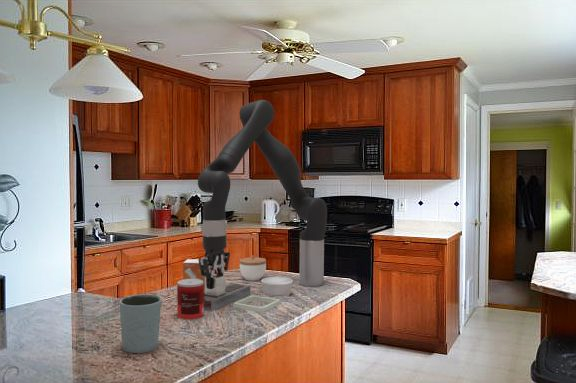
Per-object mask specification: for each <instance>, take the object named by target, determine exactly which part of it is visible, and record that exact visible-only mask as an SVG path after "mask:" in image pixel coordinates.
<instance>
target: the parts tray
mask: <svg viewBox="0 0 576 383" xmlns="http://www.w3.org/2000/svg"><path fill="white" fill-rule="evenodd" d="M251 301H256V302H262V303H268V304H266V305H264V306H256V305H250V304H247V303H250V302H251ZM281 304H282V300H281V299H279V298H272V297H266V296H259V295H251V294H250V295H249V296H246V297H244V298H242V299H239V300H237V301H235V302H232V308H233V309H238V310H245V311H251V312H256V313H257V312H258V313H267V312H268V311H269V310H271V309H273V308H275V307H277V306H279V305H281ZM275 310H277V308H276V309H275ZM275 310H274V309H273V310H272V311H270V312H269V313H268V314H270V313H271V312H273V311H275Z"/></svg>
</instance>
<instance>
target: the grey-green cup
mask: <svg viewBox="0 0 576 383" xmlns="http://www.w3.org/2000/svg"><path fill="white" fill-rule="evenodd" d="M162 302H163V300H162V297H161V296H159V295H156V294H147V293H145V294H144V293H143V294H141V293H140V294H133V295H128V296H124V297H122V298H120V300H119V302H118V303H119V313H120V314H119V315H120V317H119V318H120V327H121V329H120V332H121V334H120V335H121V344H122V345H121V346H122V350H123V351H124V352H126V353H131V354H143V353H148V352H151V351H154V350H156V349H157V348H158V347H159V338H160V336H159V335H160V323H161V309H162Z"/></svg>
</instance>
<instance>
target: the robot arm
mask: <svg viewBox="0 0 576 383" xmlns="http://www.w3.org/2000/svg"><path fill="white" fill-rule="evenodd" d="M274 118H275V110H274V107H273V105H272V104H271V102H270V101H268V100H266V99H260V100H255V101H253V102H249V103H246V104H244V105H242V106H241V107H240V109H239V119H240V121H241V124H242V126H243V127H242V128H241V129H240V130H239V131H238V132H237V133H236V134H235V135H234V136H233V137H232V138H230V139H229V140H228V141H227V143H225V145H224V146H223V147H222V149H221V151H220V153H219V154H218V155H217V157H216V158H215V159H214V160H213V161H211V162H210V163H209V164H208V165H207V166H205V168H204V169H203V170H202V171H201V172H200V174H199V176H198V179H197V186H198V188H199V190H200V191H201V192H203V193H206V194H212V196H211V199H210V200H208V201H207V200H206V201H205V202H204V203H203V205H202V215H203V216H202V230H201V231H202V249H203V250H204V251H205V253H204V256H203V257H202V258H201V257H199V258H198V259H199V260H198V261H199V266H200V271H201V275H202V276H205V277H206V286H207V289H213V288H214V284H213V278H214V277H213V275H214V274H215V271H216V275H224V274H225V272H227V271H228V269H229V262H230V257H231V252H230V251H229V252H227V251H225V249H226V248H227V246H228V245H227V221H226V205H227V203H228V198H229V193H230V190H231V179H230V176H229V175H228V174H231V173H233V172H234V171H235V170H236V169H237V167H238V166H239V165H240V163H241V161H242V159H243V158H244V157H245V154H246V153H247V152H248V150H249V149H250V148H251V146H252V145H253V144H254V142H255V144H256V145H257V146H258V148H259V149H260V151H261V152H262V155H263V156H264V157H265V159H266V160H267V162H268V165H269V166H270V168H271V169H272V172H273V173H274V175H275V176H276V177H277V180H279V182H280V184H281V186H282V187H283V189H284V192H286V194H287V196H288V198H289V200H290V202H291V204H292V207H293V209H294V211H295V213H296V215H297V217H299V219H301V220H302V221H306V227H305V229H304V230H303V229H302V230H301V231H300V232H299V285H301V286H305V287H320V286H323V285H324V280H325V279H324V271H325V267H324V266H325V265H324V264H325V260H324V259H325V236H326V235H325V234H326V232H327V222H328V221H327V219H328V206H327V203H326V201H325V200H324V199H323V198H320V197H314V196H313V197H312V196H309V194H308V193H307V191H306V189H305V187H304V186H303V184H302V180H301V178H302V177H301V169H300V165H299V163H298V161H297V158H296V157H295V155H294V154H293V152H292V151H291V150H290V149H289V147H287V146H286V145H285V144H284V143H282V142H281V141H279V140H278V139H276V137H274V136H273V134H272V133H271V132H270V131H269V130H268V129H267V128H268V127H269V125H271V123H272V122H273V120H274ZM209 266H210V267H209ZM204 270H205V272H204ZM209 270H210V272H209Z"/></svg>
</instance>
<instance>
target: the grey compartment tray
mask: <svg viewBox="0 0 576 383" xmlns="http://www.w3.org/2000/svg"><path fill="white" fill-rule="evenodd" d="M249 296H251V285H246V284H238V283H229V284H225V295H223V296H220V297H218V298H214V297H207V296H205V293H204V311H206V312H207V311H208V312H214V311H215V310H218V309H220V308H222V307H225V306H228V305H229V304H233V303H235V302H237V301H240V300H242V299H244V298H247V297H249Z"/></svg>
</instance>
